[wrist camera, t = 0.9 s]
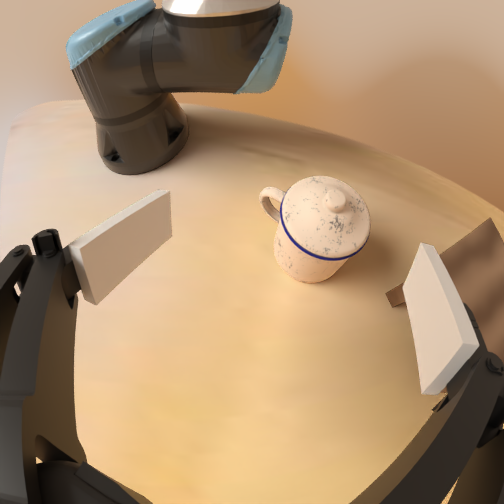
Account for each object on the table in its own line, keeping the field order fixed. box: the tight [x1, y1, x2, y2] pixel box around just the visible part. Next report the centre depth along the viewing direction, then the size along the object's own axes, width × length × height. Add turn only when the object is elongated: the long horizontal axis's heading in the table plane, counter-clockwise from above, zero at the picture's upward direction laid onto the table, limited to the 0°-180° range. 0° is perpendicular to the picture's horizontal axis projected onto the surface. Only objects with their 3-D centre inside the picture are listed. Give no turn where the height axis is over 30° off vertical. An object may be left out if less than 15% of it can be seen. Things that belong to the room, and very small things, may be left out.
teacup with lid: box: [259, 176, 371, 283], centre depth 28 cm, size 12×9×12 cm
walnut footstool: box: [386, 218, 504, 393], centre depth 26 cm, size 16×16×10 cm
